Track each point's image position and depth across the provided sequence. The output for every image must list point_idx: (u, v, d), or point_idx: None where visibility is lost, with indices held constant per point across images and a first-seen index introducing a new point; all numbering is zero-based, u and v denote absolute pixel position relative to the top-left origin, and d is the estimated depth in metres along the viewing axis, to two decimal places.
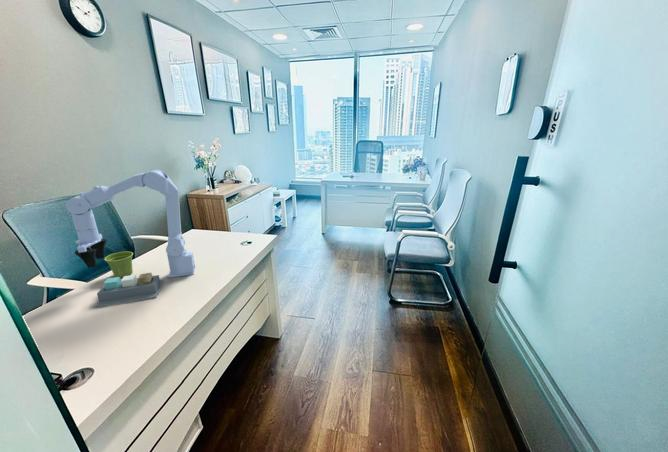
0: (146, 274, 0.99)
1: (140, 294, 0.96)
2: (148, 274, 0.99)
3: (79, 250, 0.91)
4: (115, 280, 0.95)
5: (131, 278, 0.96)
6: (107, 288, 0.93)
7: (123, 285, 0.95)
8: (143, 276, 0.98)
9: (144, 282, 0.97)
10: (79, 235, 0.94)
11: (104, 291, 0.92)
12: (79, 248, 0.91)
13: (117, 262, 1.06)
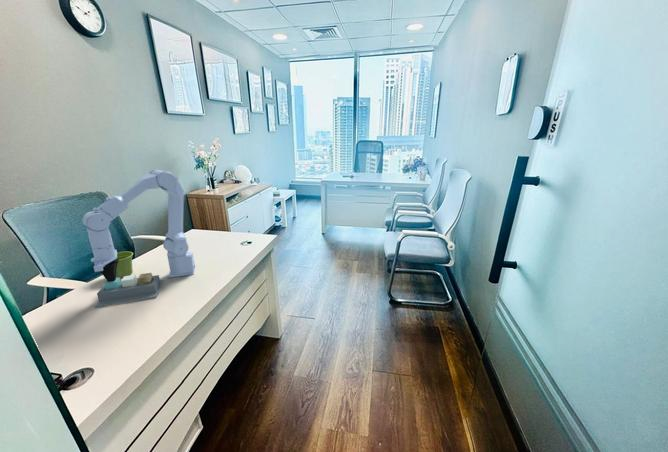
0: (146, 274, 0.99)
1: (140, 294, 0.96)
2: (148, 274, 0.99)
3: (95, 269, 0.86)
4: (115, 280, 0.95)
5: (131, 278, 0.96)
6: (107, 288, 0.94)
7: (123, 285, 0.95)
8: (143, 276, 0.98)
9: (144, 282, 0.97)
10: (95, 253, 0.88)
11: (104, 291, 0.92)
12: (95, 267, 0.86)
13: None
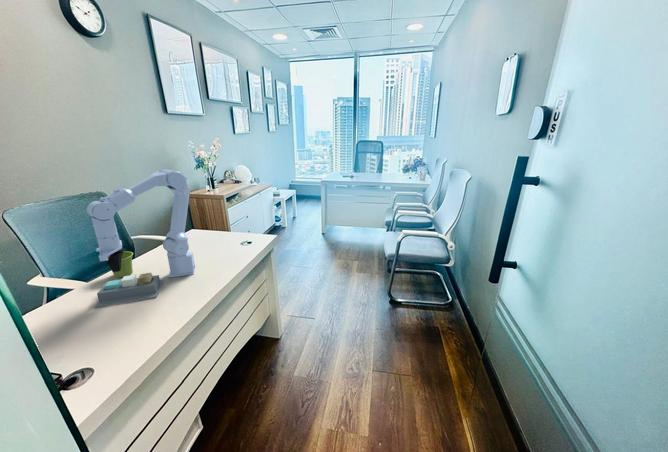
0: (146, 274, 0.99)
1: (140, 294, 0.96)
2: (148, 274, 0.99)
3: (101, 259, 0.85)
4: (116, 283, 0.95)
5: (131, 278, 0.96)
6: None
7: (123, 285, 0.95)
8: (143, 276, 0.98)
9: (144, 282, 0.97)
10: (100, 243, 0.88)
11: (104, 291, 0.92)
12: (101, 257, 0.85)
13: None
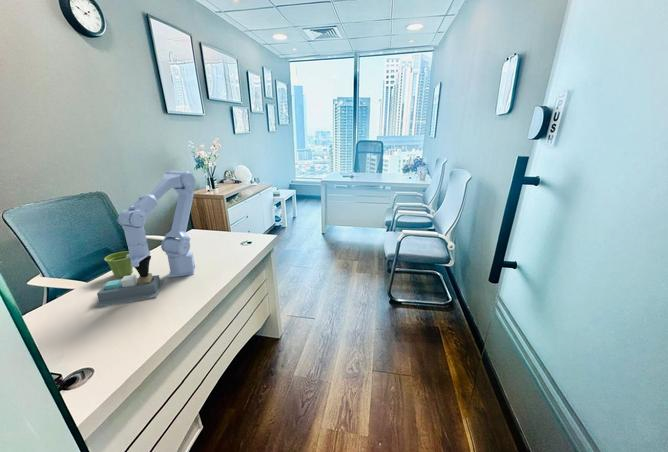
0: None
1: (140, 294, 0.96)
2: (148, 275, 0.99)
3: (132, 265, 0.89)
4: (116, 283, 0.95)
5: (131, 278, 0.96)
6: None
7: (123, 285, 0.95)
8: (143, 277, 0.98)
9: (144, 282, 0.98)
10: (131, 249, 0.92)
11: (104, 291, 0.92)
12: (132, 263, 0.89)
13: (117, 262, 1.06)
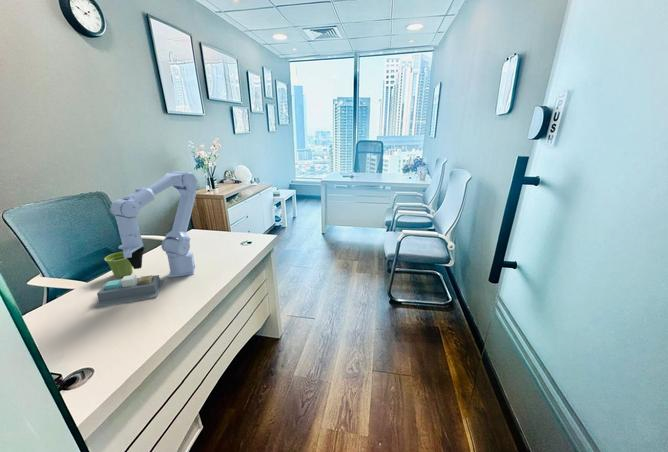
0: (147, 277, 1.00)
1: (140, 294, 0.96)
2: (149, 277, 0.99)
3: (125, 255, 0.88)
4: (116, 283, 0.95)
5: (131, 278, 0.96)
6: None
7: (123, 285, 0.95)
8: (144, 279, 0.98)
9: None
10: (123, 240, 0.90)
11: (104, 291, 0.92)
12: (125, 253, 0.88)
13: (117, 262, 1.06)
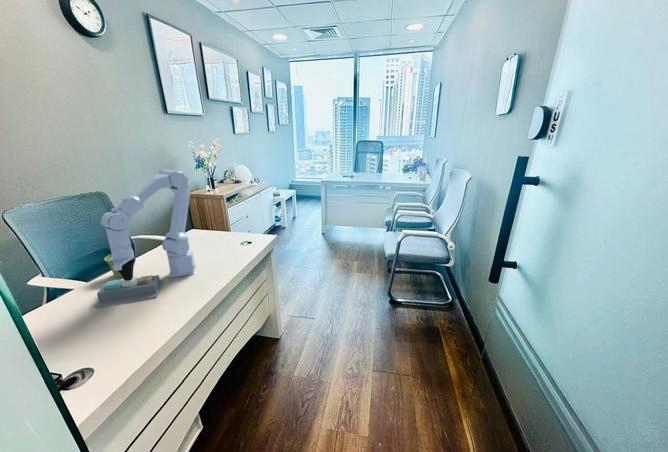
0: (147, 277, 1.00)
1: (140, 294, 0.96)
2: (149, 277, 0.99)
3: (115, 268, 0.88)
4: (116, 283, 0.95)
5: (131, 280, 0.96)
6: None
7: None
8: (144, 279, 0.98)
9: None
10: (113, 252, 0.90)
11: (104, 291, 0.92)
12: (115, 266, 0.88)
13: None
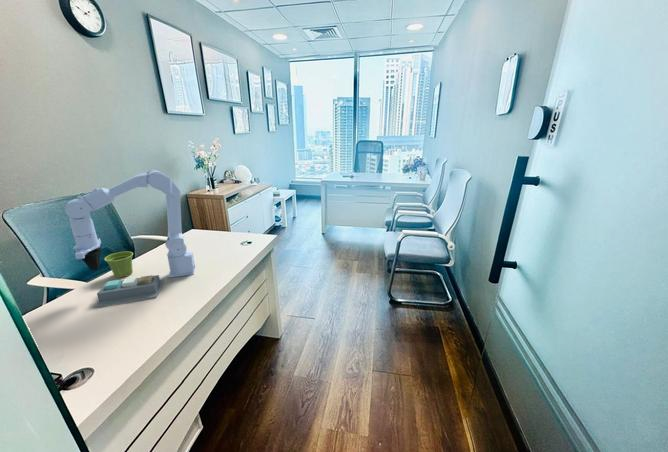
0: (147, 277, 1.00)
1: (140, 294, 0.96)
2: (149, 277, 0.99)
3: (77, 257, 0.86)
4: (116, 283, 0.95)
5: (132, 281, 0.97)
6: None
7: None
8: (144, 279, 0.98)
9: None
10: (77, 241, 0.89)
11: (104, 291, 0.92)
12: (77, 255, 0.86)
13: (117, 262, 1.06)
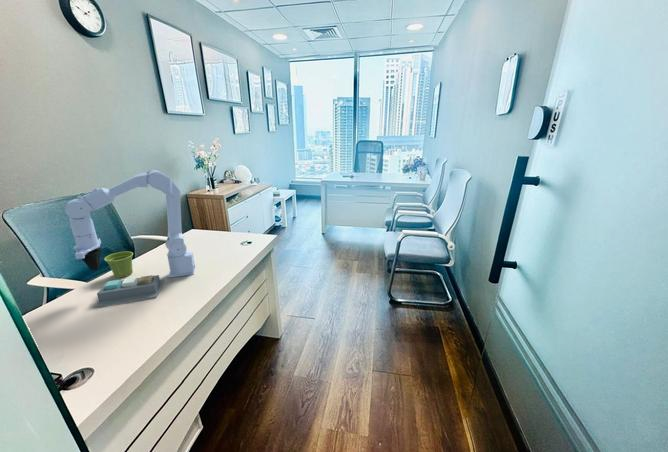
0: (147, 277, 1.00)
1: (140, 294, 0.96)
2: (149, 277, 0.99)
3: (77, 257, 0.86)
4: (116, 283, 0.95)
5: (132, 281, 0.97)
6: None
7: None
8: (144, 279, 0.98)
9: None
10: (77, 241, 0.89)
11: (104, 291, 0.92)
12: (77, 255, 0.86)
13: (117, 262, 1.06)
